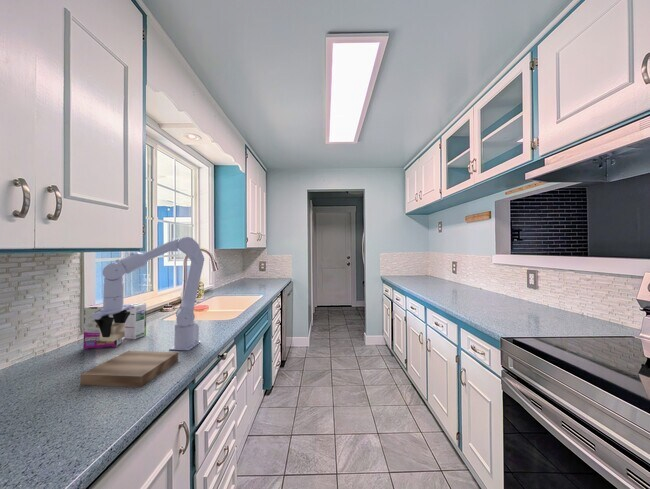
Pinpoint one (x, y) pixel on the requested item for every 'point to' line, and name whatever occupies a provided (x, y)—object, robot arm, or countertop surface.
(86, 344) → the candy bar box
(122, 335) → the birch cube
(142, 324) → the syrup box
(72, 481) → the countertop surface
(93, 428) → the countertop surface
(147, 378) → the walnut plinth
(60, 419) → the countertop surface
